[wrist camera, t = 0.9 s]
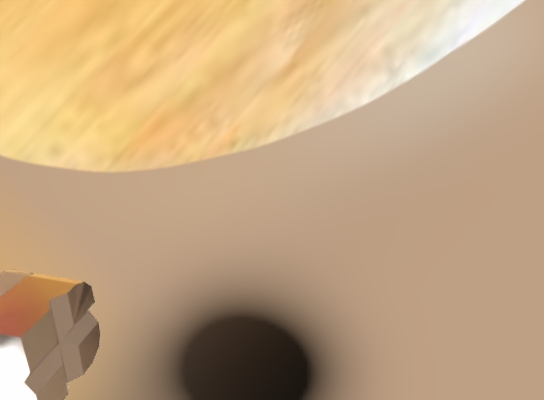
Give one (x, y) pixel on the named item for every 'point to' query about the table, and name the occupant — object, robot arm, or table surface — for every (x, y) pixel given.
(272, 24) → the table surface
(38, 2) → the table surface
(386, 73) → the table surface
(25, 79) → the table surface
